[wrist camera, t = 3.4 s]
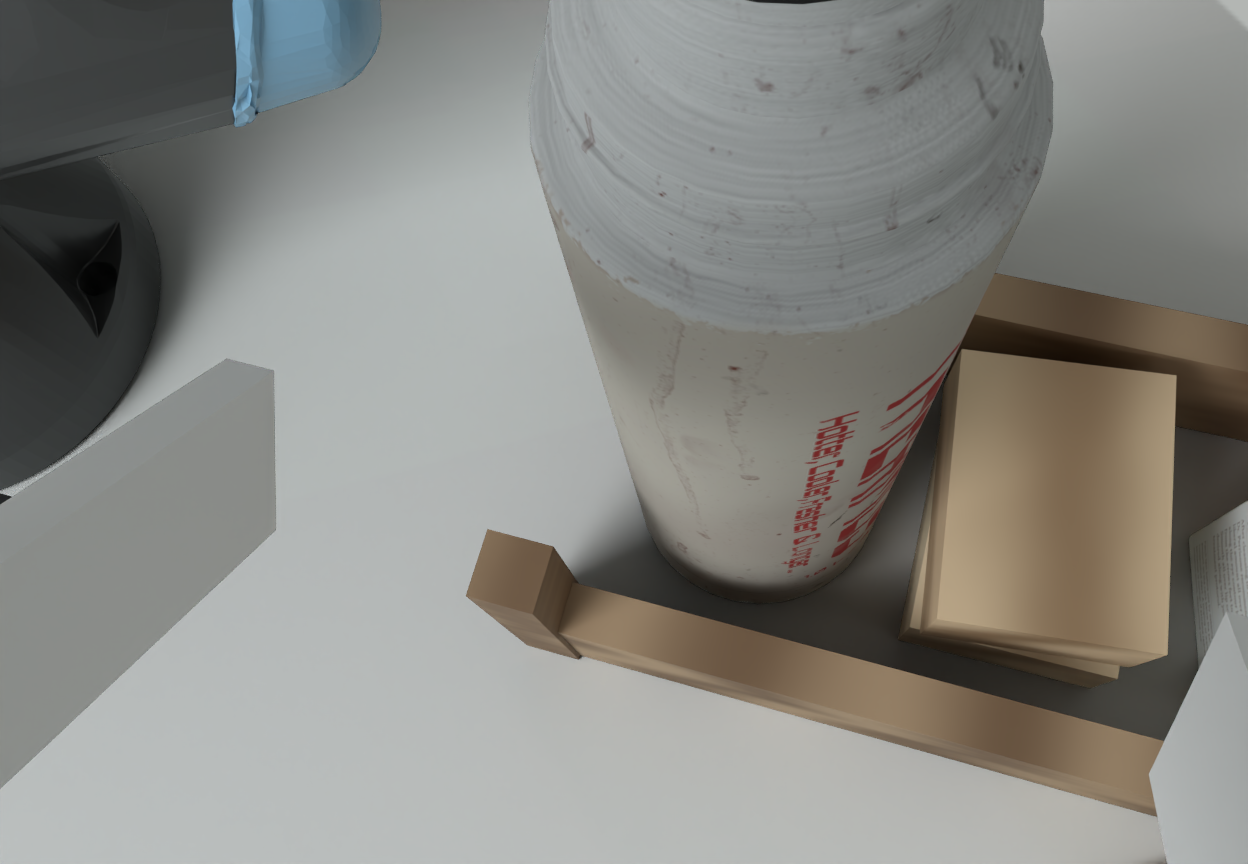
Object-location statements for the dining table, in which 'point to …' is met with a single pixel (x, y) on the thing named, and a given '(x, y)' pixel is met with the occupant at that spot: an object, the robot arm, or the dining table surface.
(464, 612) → the dining table surface
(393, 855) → the dining table surface
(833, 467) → the thermos bottle
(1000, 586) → the upper offcut
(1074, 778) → the rack
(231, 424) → the robot arm
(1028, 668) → the lower offcut
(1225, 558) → the small box
